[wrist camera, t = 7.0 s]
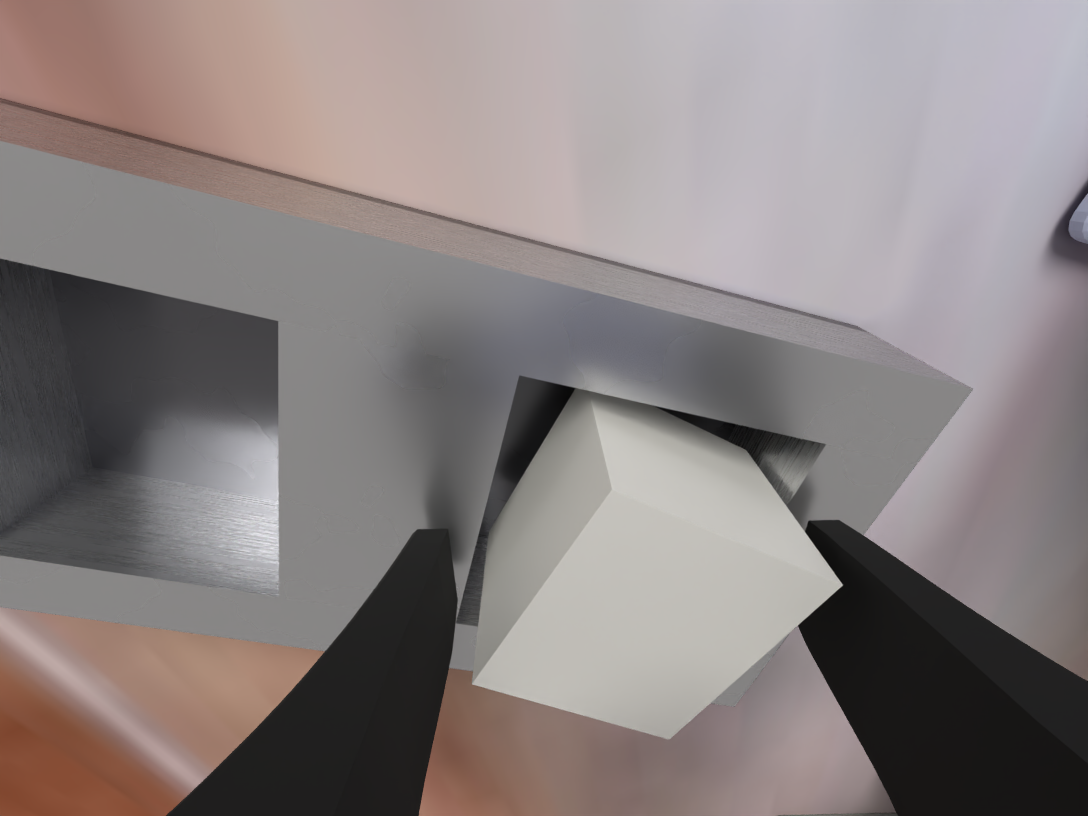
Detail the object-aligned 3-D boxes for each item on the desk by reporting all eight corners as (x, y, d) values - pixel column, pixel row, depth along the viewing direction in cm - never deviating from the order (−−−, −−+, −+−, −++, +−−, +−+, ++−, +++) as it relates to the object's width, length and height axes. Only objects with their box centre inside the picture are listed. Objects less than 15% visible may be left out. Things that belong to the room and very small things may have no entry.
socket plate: (857, 326, 12) (973, 389, 9) (696, 601, 16) (734, 706, 13) (-82, 76, 9) (-402, 37, 6) (39, 491, 14) (-105, 592, 10)
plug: (727, 424, 12) (843, 585, 8) (625, 552, 14) (669, 739, 10) (579, 352, 11) (611, 489, 7) (492, 501, 13) (471, 684, 9)
